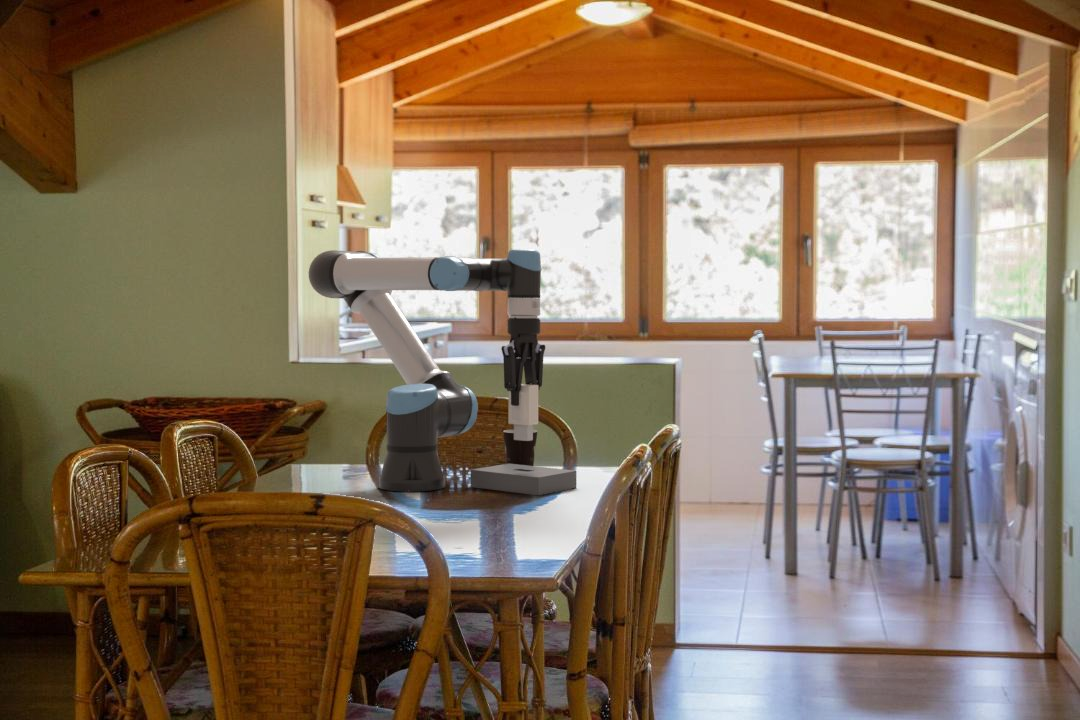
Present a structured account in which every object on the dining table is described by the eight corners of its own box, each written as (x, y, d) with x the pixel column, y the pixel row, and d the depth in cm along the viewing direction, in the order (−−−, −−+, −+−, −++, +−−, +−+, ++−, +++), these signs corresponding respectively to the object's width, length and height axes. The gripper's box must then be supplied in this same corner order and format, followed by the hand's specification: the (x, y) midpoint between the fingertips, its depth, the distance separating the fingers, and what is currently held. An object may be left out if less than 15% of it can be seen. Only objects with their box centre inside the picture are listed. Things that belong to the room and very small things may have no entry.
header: (470, 486, 300) (470, 469, 300) (509, 480, 311) (509, 463, 311) (538, 495, 288) (538, 477, 287) (576, 488, 299) (576, 470, 298)
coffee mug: (512, 467, 333) (512, 428, 333) (543, 469, 329) (543, 430, 329) (491, 473, 323) (491, 433, 322) (522, 475, 319) (522, 434, 318)
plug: (508, 439, 299) (508, 384, 298) (518, 438, 302) (518, 383, 301) (528, 441, 295) (528, 385, 295) (538, 440, 298) (538, 384, 298)
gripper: (513, 317, 288) (512, 423, 290) (559, 317, 301) (558, 417, 303) (487, 317, 293) (487, 420, 294) (533, 316, 306) (532, 415, 307)
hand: (523, 418), depth 298 cm, fingers closed on plug, 3 cm apart
